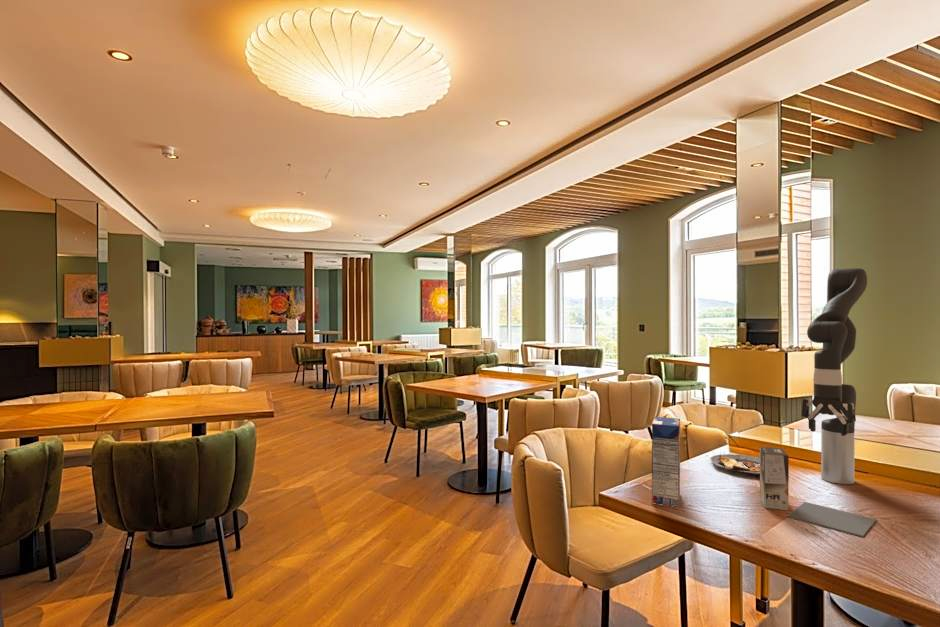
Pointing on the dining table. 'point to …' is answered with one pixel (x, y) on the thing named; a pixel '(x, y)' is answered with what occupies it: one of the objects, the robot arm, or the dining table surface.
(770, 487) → the coffee box
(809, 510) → the rubber mat
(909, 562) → the dining table surface
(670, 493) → the juice carton
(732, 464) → the food plate
